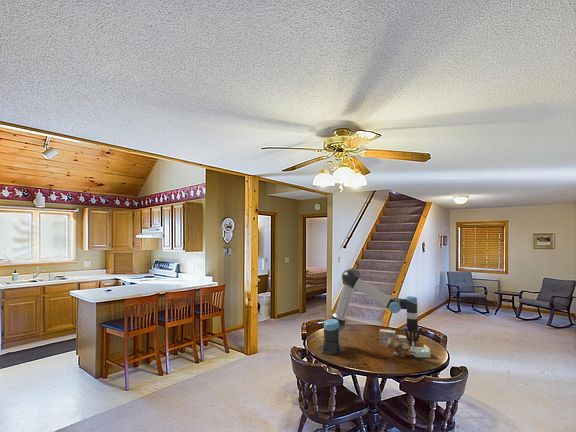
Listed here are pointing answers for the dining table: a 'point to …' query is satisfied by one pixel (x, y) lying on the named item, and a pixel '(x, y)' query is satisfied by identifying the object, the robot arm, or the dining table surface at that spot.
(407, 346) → the mottled brown lumpy cluster
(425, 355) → the pale green open box
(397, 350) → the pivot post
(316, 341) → the dining table surface
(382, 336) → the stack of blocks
